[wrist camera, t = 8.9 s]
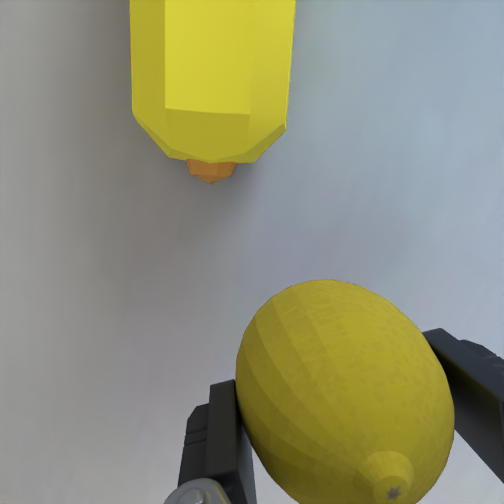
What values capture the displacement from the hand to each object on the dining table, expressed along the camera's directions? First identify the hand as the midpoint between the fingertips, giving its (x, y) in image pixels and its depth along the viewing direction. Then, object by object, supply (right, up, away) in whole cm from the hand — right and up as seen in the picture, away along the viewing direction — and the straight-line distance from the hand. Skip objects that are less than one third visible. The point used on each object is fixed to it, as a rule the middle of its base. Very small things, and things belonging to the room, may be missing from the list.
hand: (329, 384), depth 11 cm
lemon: (0, +1, +4) cm, 4 cm away
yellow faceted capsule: (-4, +17, +9) cm, 19 cm away
